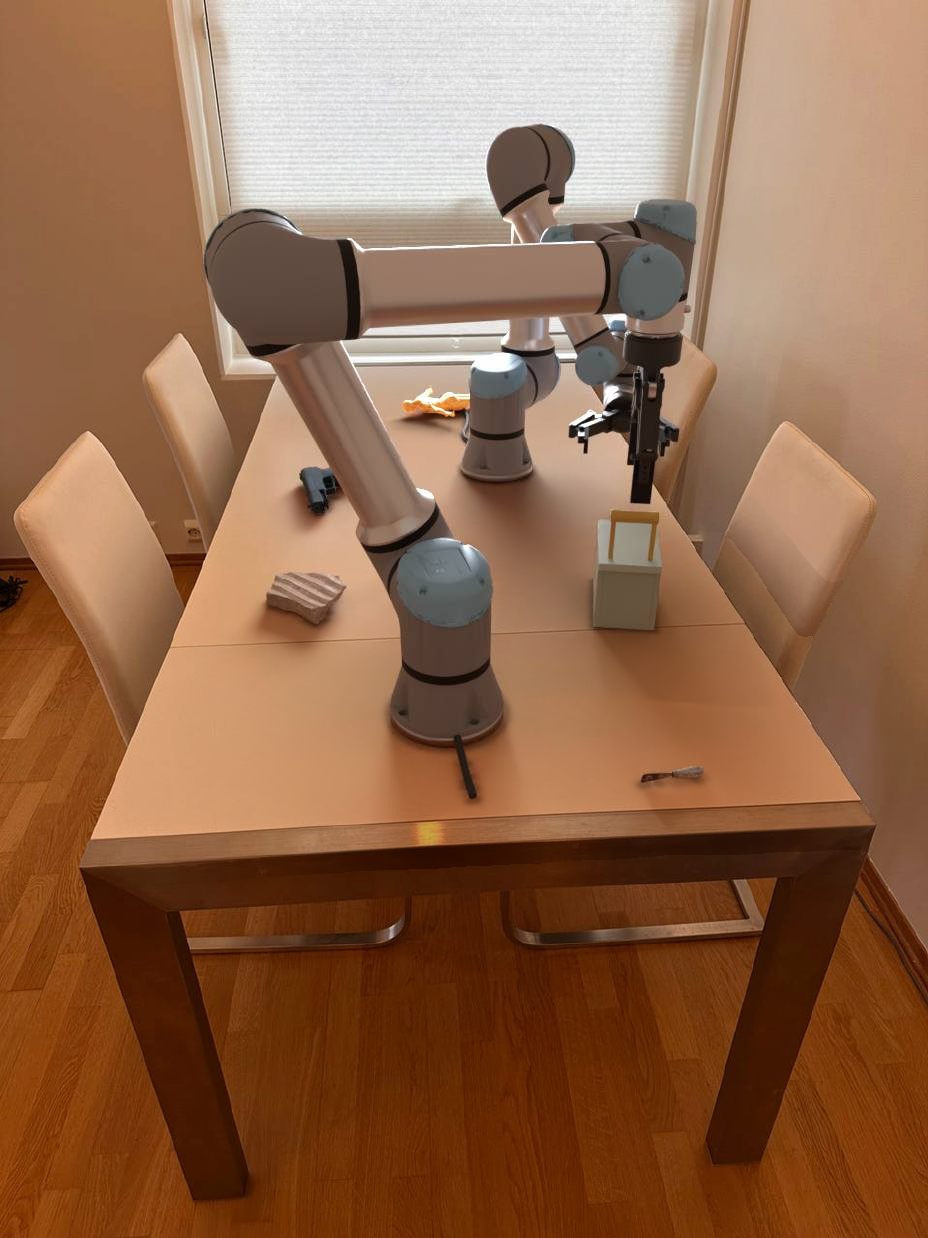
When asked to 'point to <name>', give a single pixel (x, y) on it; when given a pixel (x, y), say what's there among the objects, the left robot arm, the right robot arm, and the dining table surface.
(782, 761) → the dining table surface
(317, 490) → the handgun
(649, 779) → the putty knife
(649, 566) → the lid
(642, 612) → the chest
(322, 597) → the stone
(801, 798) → the dining table surface
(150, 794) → the dining table surface
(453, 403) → the human figure
